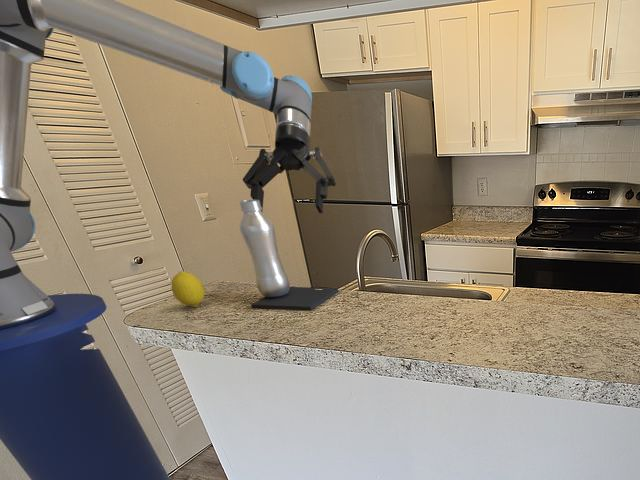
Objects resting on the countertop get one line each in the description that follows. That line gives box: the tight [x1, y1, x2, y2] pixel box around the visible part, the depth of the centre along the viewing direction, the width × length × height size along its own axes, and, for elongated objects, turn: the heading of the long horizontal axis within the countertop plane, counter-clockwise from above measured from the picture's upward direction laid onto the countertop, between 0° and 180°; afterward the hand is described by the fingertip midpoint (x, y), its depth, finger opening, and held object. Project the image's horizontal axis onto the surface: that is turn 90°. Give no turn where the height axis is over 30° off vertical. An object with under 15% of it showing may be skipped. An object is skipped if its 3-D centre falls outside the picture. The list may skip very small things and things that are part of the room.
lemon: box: [170, 270, 206, 308], centre depth 86 cm, size 6×6×8 cm
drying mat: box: [250, 286, 339, 311], centre depth 90 cm, size 14×12×1 cm
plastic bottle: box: [239, 199, 291, 297], centre depth 86 cm, size 6×7×20 cm
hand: (288, 210), depth 91 cm, fingers open, 13 cm apart
